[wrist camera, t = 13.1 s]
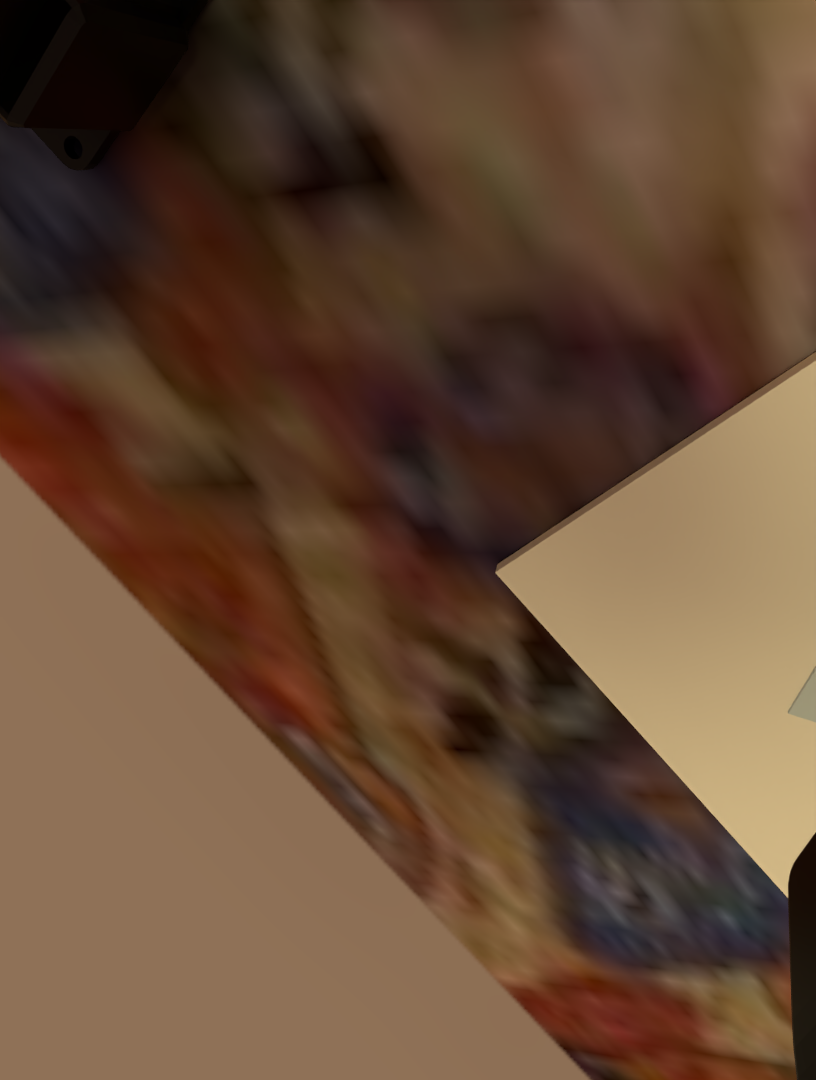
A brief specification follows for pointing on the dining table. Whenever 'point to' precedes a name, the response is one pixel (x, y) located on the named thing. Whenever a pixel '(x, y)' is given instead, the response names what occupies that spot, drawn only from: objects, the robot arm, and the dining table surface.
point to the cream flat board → (705, 611)
